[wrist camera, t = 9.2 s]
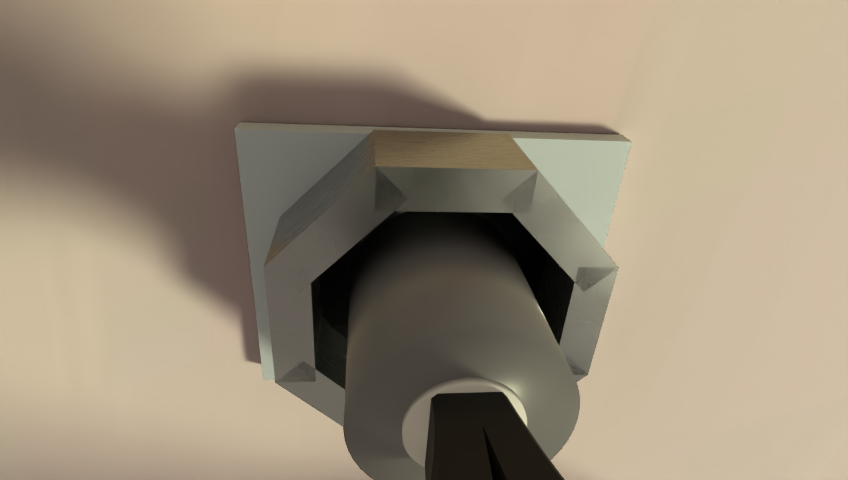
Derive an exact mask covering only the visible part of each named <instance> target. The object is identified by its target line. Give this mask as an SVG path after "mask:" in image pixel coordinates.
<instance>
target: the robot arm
mask: <svg viewBox="0 0 848 480" xmlns="http://www.w3.org/2000/svg"><path fill="white" fill-rule="evenodd" d="M425 479H426V480H564V478H563V477H562V476H561V474H560V473H559V472H558V470H557V469H556V468H555V466H554V465H553V464H552V462H551V461H550V459H549V458H548V457H547V455H546V454H545V453H544V451H543V450H542V448H541V447H540V445H539V444H538V442H537V441H536V440H535V438H534V437H533V435H532V434H531V432H530V431H529V429H528V428H527V426H526V425H525V423H524V422H523V420H522V419H521V417H520V416H519V414H518V413H517V411H516V410H515V408H514V407H513V405H512V403H511V402H510V400H509V399H508V397H507V396H506V395H505V394H504V393H503V392H474V393H438V394H436V395H435V396H434V397H432V398H431V405H430V416H429V426H428V436H427V447H426V457H425Z"/></svg>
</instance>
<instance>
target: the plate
mask: <svg viewBox="0 0 848 480" xmlns="http://www.w3.org/2000/svg"><path fill="white" fill-rule="evenodd" d="M373 130H400V131H431V132H462V133H493V134H509V135H510V136H511V137H512V138H513V139H514V141H515V142H516V143H517V144H518V145H519V147H520V148H521V149H522V150H523V152H524V153H525V154H526V155H527V156H528V158H529V159H530V160H531V161H532V162H533V164H534V165H535V166H536V167H537V168H538V170H539V171H540V172H541V173H542V175H543V176H544V177H545V178H546V179H547V181H548V182H549V183H550V184H551V185H552V187H553V188H554V189H555V190H556V191H557V193H558V194H559V195H560V196H561V198H562V199H563V200H564V201H565V202H566V204H567V205H568V206H569V207H570V208H571V210H572V211H573V212H574V213H575V214H576V216H577V217H578V218H579V219H580V220H581V222H582V223H583V224H584V225H585V227H586V228H587V229H588V230H589V232H590V233H591V234H592V235H593V236H594V238H595V239H596V240H597V241H598V243H599V244H600V245H601V246H602V248H604V244H605V241H606V237H607V233H608V229H609V225H610V222H611V218H612V214H613V210H614V207H615V203H616V199H617V195H618V192H619V188H620V184H621V180H622V176H623V173H624V169H625V165H626V161H627V158H628V154H629V150H630V146H631V143H632V142H631V141H630V140H629V139H627V138H626V137H624V136H623V135H615V134H585V133H555V132H524V131H494V130H463V129H433V128H403V127H372V126H342V125H311V124H281V123H251V122H239V124H238V125H237V126H236V128H235V129H234V132H235V141H236V149H237V158H238V166H239V175H240V184H241V192H242V201H243V209H244V218H245V227H246V235H247V244H248V252H249V261H250V270H251V278H252V287H253V295H254V304H255V313H256V321H257V330H258V338H259V347H260V355H261V364H262V373H263V380H275V376H274V366H273V356H272V346H271V336H270V327H269V317H268V307H267V297H266V287H265V277H264V268H263V267H264V264H265V261H266V258H267V255H268V252H269V248H270V245H271V242H272V239H273V236H274V233H275V230H276V227H277V224H278V221H279V218H280V216H281V215H282V214H283V213H284V212H285V211H286V210H288V209H289V208H290V207H291V206H292V205H293V204H294V203H295V202H296V201H297V200H298V199H299V198H301V197H302V196H303V195H304V194H305V193H306V192H307V191H308V190H309V189H310V188H311V187H312V186H313V185H315V184H316V183H317V182H318V181H319V180H320V179H321V178H322V177H323V176H324V175H325V174H326V173H327V172H329V171H330V170H331V169H332V168H333V167H334V166H335V165H336V164H337V163H338V162H339V161H340V160H342V159H343V158H344V157H345V156H346V155H347V154H348V153H349V152H350V151H351V150H352V149H353V148H354V147H356V146H357V145H358V144H359V143H360V142H361V141H362V140H363V139H364V138H365V137H366V136H367V135H368V134H370V133H371V132H372V131H373Z"/></svg>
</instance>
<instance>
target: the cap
mask: <svg viewBox="0 0 848 480" xmlns="http://www.w3.org/2000/svg"><path fill="white" fill-rule="evenodd" d="M474 392H503V393H504V394H505V395H506V396H507V397H508V399H509V400H510V402H511V403H512V405H513V407H514V408H515V410H516V411H517V413H518V414H519V416H520V417H521V419H522V420H523V422H524V423H525V425H526V426H527V428H528V429H529V431H530V432H531V434H532V435H533V437H534V438H535V440H536V441H537V442H538V444H539V445H540V447H541V448H542V450H543V451H544V453H545V454H546V455H547V457H548V458H549V459H550V460H551V459H552V458H554V456H555V455H556V454H557V453H558V452H559V451H560V450H561V449H562V447H563V446H564V445H565V443H566V442H567V441H568V439H569V437H570V435H571V434H572V432H573V430H574V427H575V425H576V422H577V419H578V414H579V409H580V395H579V390H578V385H577V383H576V380H575V378H574V375H573V373H572V371H571V369H570V367H569V365H568V363H567V361H566V359H565V357H564V355H563V353H562V351H561V349H560V347H559V345H558V343H557V341H556V339H555V337H554V335H553V333H552V331H551V329H550V327H549V325H548V323H547V321H546V319H545V317H544V315H543V313H542V311H541V309H540V307H539V305H538V303H537V301H536V299H535V296H534V294H533V292H532V290H531V288H530V286H529V284H528V282H527V280H526V278H525V276H524V274H523V272H522V270H521V268H520V266H519V264H518V262H517V260H516V258H515V256H514V254H513V252H512V250H511V248H510V246H509V244H508V242H507V241H506V239H505V238H504V236H503V235H502V234H501V232H500V231H499V230H498V229H497V228H496V227H495V226H494V225H492V224H491V223H490V222H489V221H487V220H486V219H484V218H483V217H481V216H479V215H477V214H475V213H472V212H415V211H407V212H404V213H401V214H399V215H397V216H395V217H393V218H391V219H389V220H388V221H386V222H384V223H383V224H382V225H380V226H379V227H378V228H376V229H375V230H374V231H373V232H372V233H371V234H370V235H369V236H368V237H367V238H366V240H365V241H364V242H363V244H362V245H361V247H360V248H359V250H358V252H357V254H356V256H355V259H354V261H353V264H352V269H351V275H350V295H349V317H348V339H347V361H346V383H345V405H344V427H343V430H344V438H345V442H346V445H347V448H348V451H349V453H350V454H351V456H352V458H353V460H354V461H355V462H356V464H357V465H358V466H359V467H360V469H361V470H363V471H364V472H365V473H366V474H367V475H368V476H369V477H371V478H372V479H374V480H426V479H425V457H426V447H427V436H428V426H429V416H430V405H431V398H432V397H434V396H435V395H436V394H438V393H474Z"/></svg>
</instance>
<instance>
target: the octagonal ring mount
mask: <svg viewBox="0 0 848 480" xmlns="http://www.w3.org/2000/svg"><path fill="white" fill-rule="evenodd" d="M407 211H415V212H472V213H475V214H477V215H479V216H481V217H483V218H484V219H486V220H487V221H489V222H490V223H491V224H492V225H494V226H495V227H496V228H497V229H498V230H499V231H500V232H501V234H502V235H503V236H504V238H505V239H506V241H507V242H508V244H509V246H510V248H511V250H512V252H513V254H514V256H515V258H516V260H517V262H518V264H519V266H520V268H521V270H522V272H523V274H524V276H525V278H526V280H527V282H528V284H529V286H530V288H531V290H532V292H533V294H534V296H535V299H536V301H537V303H538V305H539V307H540V309H541V311H542V313H543V315H544V317H545V319H546V321H547V323H548V325H549V327H550V329H551V331H552V333H553V335H554V337H555V339H556V341H557V343H558V345H559V347H560V349H561V351H562V353H563V355H564V357H565V359H566V361H567V363H568V365H569V367H570V369H571V371H572V373H573V375H574V378H575V380H576V382H577V381H579V380H580V379H582V378H583V377H585V376H586V375H588V372H589V369H590V365H591V362H592V358H593V355H594V351H595V348H596V344H597V341H598V337H599V334H600V330H601V327H602V323H603V320H604V316H605V313H606V310H607V306H608V303H609V299H610V296H611V292H612V289H613V285H614V282H615V278H616V275H617V271H618V268H619V267H618V266H617V265H616V264H615V262H614V261H613V260H612V259H611V257H610V256H609V255H608V254H607V253H606V251H605V250H604V249H603V248H602V246H601V245H600V244H599V243H598V241H597V240H596V239H595V238H594V236H593V235H592V234H591V233H590V232H589V230H588V229H587V228H586V227H585V225H584V224H583V223H582V222H581V220H580V219H579V218H578V217H577V216H576V214H575V213H574V212H573V211H572V210H571V208H570V207H569V206H568V205H567V204H566V202H565V201H564V200H563V199H562V198H561V196H560V195H559V194H558V193H557V191H556V190H555V189H554V188H553V187H552V185H551V184H550V183H549V182H548V181H547V179H546V178H545V177H544V176H543V175H542V173H541V172H540V171H539V170H538V168H537V167H536V166H535V165H534V164H533V162H532V161H531V160H530V159H529V158H528V156H527V155H526V154H525V153H524V152H523V150H522V149H521V148H520V147H519V145H518V144H517V143H516V142H515V141H514V139H513V138H512V137H511V136H510V135H509V134H493V133H462V132H431V131H400V130H373V131H372V132H371V133H370V134H368V135H367V136H366V137H365V138H364V139H363V140H362V141H361V142H360V143H359V144H358V145H357V146H356V147H354V148H353V149H352V150H351V151H350V152H349V153H348V154H347V155H346V156H345V157H344V158H343V159H342V160H340V161H339V162H338V163H337V164H336V165H335V166H334V167H333V168H332V169H331V170H330V171H329V172H327V173H326V174H325V175H324V176H323V177H322V178H321V179H320V180H319V181H318V182H317V183H316V184H315V185H313V186H312V187H311V188H310V189H309V190H308V191H307V192H306V193H305V194H304V195H303V196H302V197H301V198H299V199H298V200H297V201H296V202H295V203H294V204H293V205H292V206H291V207H290V208H289V209H288V210H286V211H285V212H284V213H283V214H282V215H281V216H280V218H279V221H278V224H277V227H276V230H275V233H274V236H273V239H272V242H271V245H270V248H269V252H268V255H267V258H266V261H265V264H264V267H263V268H264V277H265V287H266V297H267V307H268V317H269V327H270V336H271V346H272V356H273V366H274V376H275V383H277V384H278V385H280V386H281V387H283V388H284V389H286V390H288V391H289V392H291V393H292V394H294V395H295V396H297V397H298V398H300V399H301V400H303V401H304V402H306V403H308V404H309V405H311V406H312V407H314V408H315V409H317V410H318V411H320V412H321V413H323V414H324V415H326V416H328V417H329V418H331V419H332V420H334V421H335V422H337V423H338V424H340V425H341V426H343V427H344V405H345V383H346V361H347V339H348V317H349V295H350V275H351V269H352V264H353V261H354V259H355V256H356V254H357V252H358V250H359V248H360V247H361V245H362V244H363V242H364V241H365V240H366V238H367V237H368V236H369V235H370V234H371V233H372V232H373V231H374V230H375V229H376V228H378V227H379V226H380V225H382V224H383V223H384V222H386V221H388V220H389V219H391V218H393V217H395V216H397V215H399V214H401V213H404V212H407Z"/></svg>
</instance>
